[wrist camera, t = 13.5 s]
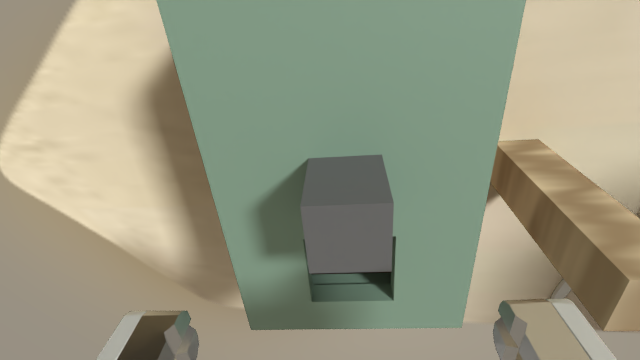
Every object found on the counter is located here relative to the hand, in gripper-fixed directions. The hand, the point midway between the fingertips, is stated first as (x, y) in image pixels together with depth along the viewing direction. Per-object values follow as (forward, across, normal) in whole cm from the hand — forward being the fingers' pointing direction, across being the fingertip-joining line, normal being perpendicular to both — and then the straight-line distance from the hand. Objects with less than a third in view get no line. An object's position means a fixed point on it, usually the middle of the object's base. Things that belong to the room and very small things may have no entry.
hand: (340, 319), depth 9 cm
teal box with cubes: (+8, 0, 0) cm, 8 cm away
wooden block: (+17, -13, +4) cm, 21 cm away
